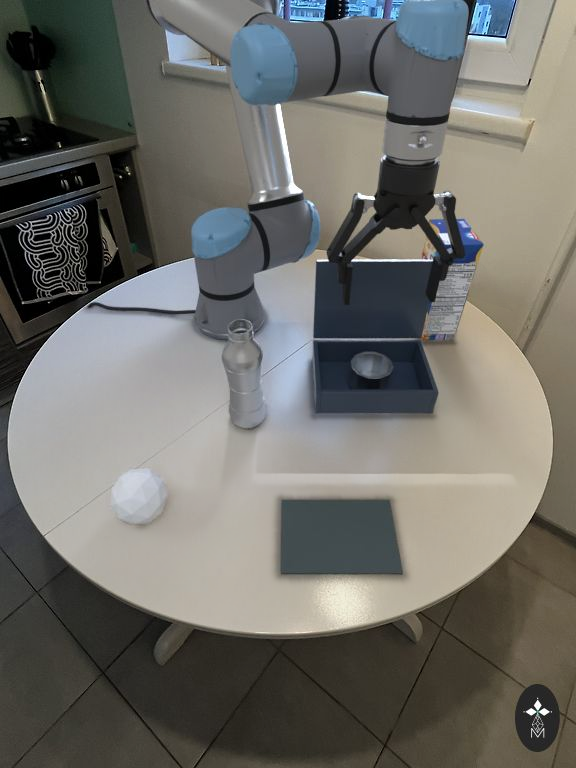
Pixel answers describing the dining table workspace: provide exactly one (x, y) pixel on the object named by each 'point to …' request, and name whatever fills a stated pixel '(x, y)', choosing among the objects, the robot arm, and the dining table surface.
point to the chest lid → (372, 300)
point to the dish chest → (404, 395)
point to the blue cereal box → (450, 282)
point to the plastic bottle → (244, 375)
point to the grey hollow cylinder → (370, 371)
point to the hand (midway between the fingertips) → (387, 299)
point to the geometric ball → (138, 496)
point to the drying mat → (338, 537)
